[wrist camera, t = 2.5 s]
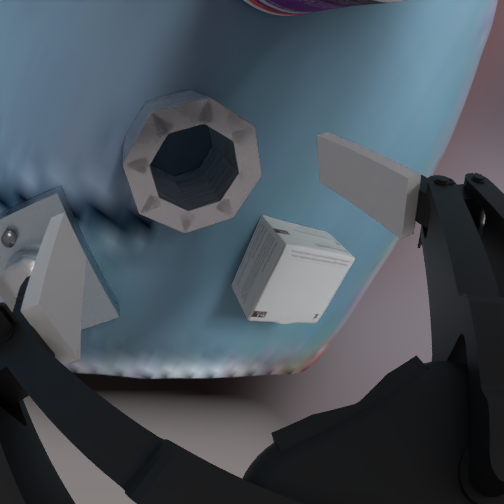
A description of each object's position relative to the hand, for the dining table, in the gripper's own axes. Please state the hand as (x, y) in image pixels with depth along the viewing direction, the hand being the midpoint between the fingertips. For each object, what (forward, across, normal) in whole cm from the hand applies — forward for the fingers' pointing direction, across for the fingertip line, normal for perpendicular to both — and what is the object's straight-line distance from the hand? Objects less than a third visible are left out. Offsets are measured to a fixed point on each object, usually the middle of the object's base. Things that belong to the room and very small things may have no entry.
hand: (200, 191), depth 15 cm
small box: (+9, +7, -12) cm, 17 cm away
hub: (+8, 0, 0) cm, 8 cm away
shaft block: (+8, -14, -6) cm, 17 cm away
